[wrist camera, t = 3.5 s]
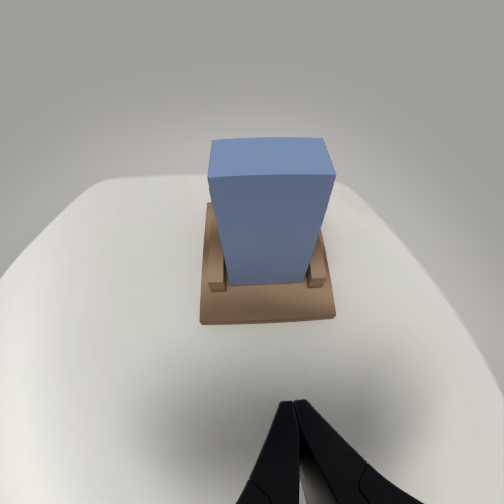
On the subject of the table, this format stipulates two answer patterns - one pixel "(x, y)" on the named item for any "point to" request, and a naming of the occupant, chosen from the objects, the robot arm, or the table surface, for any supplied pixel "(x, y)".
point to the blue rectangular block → (269, 205)
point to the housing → (261, 289)
